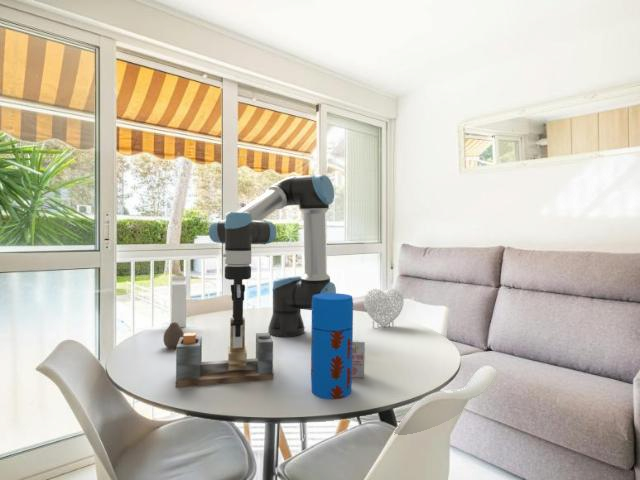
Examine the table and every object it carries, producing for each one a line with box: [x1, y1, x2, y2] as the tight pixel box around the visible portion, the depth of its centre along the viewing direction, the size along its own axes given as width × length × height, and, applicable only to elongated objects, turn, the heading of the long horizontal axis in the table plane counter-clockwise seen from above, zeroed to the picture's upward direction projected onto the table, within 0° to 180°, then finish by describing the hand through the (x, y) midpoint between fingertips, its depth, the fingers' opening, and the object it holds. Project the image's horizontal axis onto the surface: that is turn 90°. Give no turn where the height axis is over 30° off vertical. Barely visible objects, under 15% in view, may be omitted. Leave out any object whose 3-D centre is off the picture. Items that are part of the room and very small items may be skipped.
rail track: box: [175, 332, 274, 388], centre depth 111 cm, size 26×12×11 cm, turn 104°
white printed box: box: [352, 341, 366, 380], centre depth 112 cm, size 4×7×10 cm, turn 85°
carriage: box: [227, 317, 248, 371], centre depth 111 cm, size 5×7×14 cm
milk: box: [170, 275, 187, 328], centre depth 169 cm, size 6×6×22 cm
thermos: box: [310, 292, 354, 400], centre depth 101 cm, size 11×11×25 cm
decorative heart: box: [363, 288, 405, 328], centre depth 172 cm, size 18×11×17 cm, turn 97°
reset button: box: [183, 332, 197, 344], centre depth 108 cm, size 3×3×2 cm
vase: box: [163, 322, 185, 350], centre depth 137 cm, size 7×7×9 cm
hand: (237, 345), depth 111 cm, fingers closed on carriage, 3 cm apart
